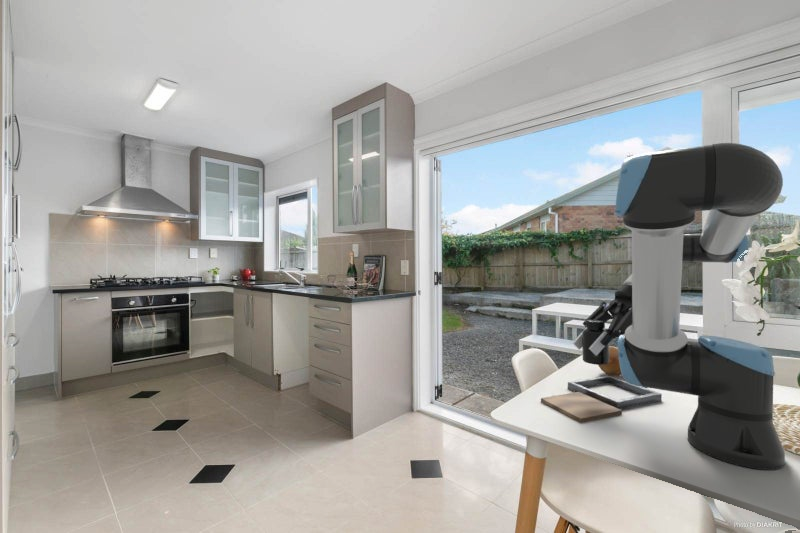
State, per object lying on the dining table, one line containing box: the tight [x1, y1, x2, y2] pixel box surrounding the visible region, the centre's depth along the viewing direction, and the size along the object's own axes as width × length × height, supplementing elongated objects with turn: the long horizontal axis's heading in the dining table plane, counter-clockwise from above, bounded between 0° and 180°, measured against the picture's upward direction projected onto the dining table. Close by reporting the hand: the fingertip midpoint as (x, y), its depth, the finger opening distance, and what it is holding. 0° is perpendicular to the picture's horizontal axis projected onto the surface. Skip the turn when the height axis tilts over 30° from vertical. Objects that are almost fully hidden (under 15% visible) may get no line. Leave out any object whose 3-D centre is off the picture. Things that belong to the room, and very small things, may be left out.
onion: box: [597, 345, 622, 377], centre depth 126 cm, size 10×10×10 cm
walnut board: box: [540, 391, 623, 423], centre depth 98 cm, size 14×14×1 cm
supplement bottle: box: [581, 319, 610, 366], centre depth 104 cm, size 7×7×12 cm
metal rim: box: [567, 375, 663, 410], centre depth 108 cm, size 17×17×2 cm
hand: (584, 348), depth 103 cm, fingers closed on supplement bottle, 7 cm apart
